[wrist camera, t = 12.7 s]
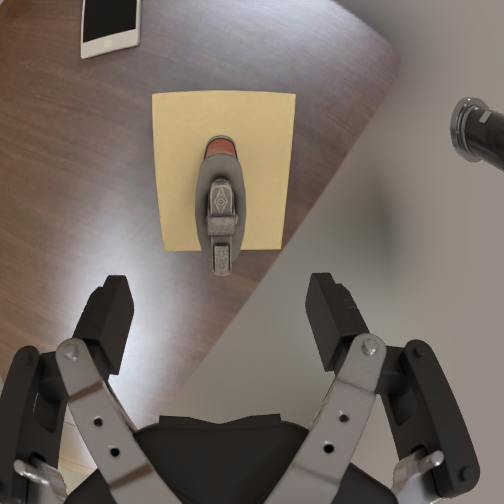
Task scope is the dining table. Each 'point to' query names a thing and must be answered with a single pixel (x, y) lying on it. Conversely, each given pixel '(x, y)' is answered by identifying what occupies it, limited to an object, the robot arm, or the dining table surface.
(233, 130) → the lunchbox lid
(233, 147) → the lighter
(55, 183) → the dining table surface
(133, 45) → the smartphone
